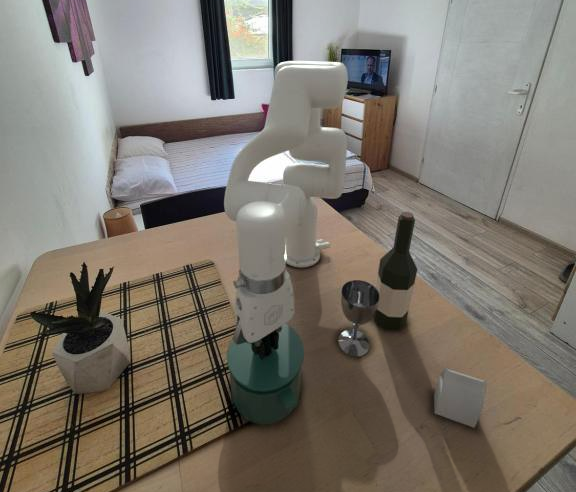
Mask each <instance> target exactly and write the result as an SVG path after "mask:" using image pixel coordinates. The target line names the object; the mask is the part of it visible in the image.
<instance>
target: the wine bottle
mask: <svg viewBox="0 0 576 492" xmlns="http://www.w3.org/2000/svg"><path fill="white" fill-rule="evenodd" d="M415 223H416V219H415V217H414V214H413V212H409V211H402V212H401V214H400V215H398V219H397V225H396V230H395V235H394V242H393V247H392V248H391V249H390V250H389V251H388V252H386V253H385V254H384V255H383V256H382V257H381V258H380V259H379V265H378V272H377V277H376V285H375V288H376V289H377V290H378V292H379V304H378V308H377V311H376V313H375V315H374V317H373V321H374V322H375V323H376V324H378V325H379V326H380V327H382V328H383V329H385V330H390V331H395V330H396V331H400V330H401V329H402V328H403V327H404V326H405V325H406V324H407V320H408V315H409V310H410V306H411V301H412V297H413V292H414V286H415V282H416V278H417V273H418V268H417V265H416V263H415V261H414V259H413V257H412V254H411V252H410V249H411V244H412V239H413V234H414V228H415Z"/></svg>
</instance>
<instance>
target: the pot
mask: <svg viewBox="0 0 576 492" xmlns="http://www.w3.org/2000/svg"><path fill="white" fill-rule="evenodd" d="M229 379H230V390H231V400H232V401H233V405H234V407H235V409H236V410H237V412H238V413H239V414H240V416H241V417H243V418H244V419H245V420H247V421H248V422H250V423H254V424H256V425H265V426H267V425H272V424H275V423H277V422H280V421H283V420H284V419H286V417H288V416H289V415H290V414H291V413H292V412H293V410H294V409H295V408H296V407H297V406H298V405H299V397H300V394H301V393H300V392H301V385H302V384H301V383H302V381H301V380H302V368H301V369H300V371H299V372H298V374H297V375H296V376H295V378H294V379H293V380H292V381H291V382H289V383H288V384H287V385H285V386H283V387H281V388H279V389H276V390H273V391H266V392H261V391H254V390H250V389H248V388H246V387H244V386H242V385H241V384H239V383H238V382H237V381H236V380H235V379H234V377H233V376H232V374H231V373H230V372H229Z"/></svg>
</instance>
